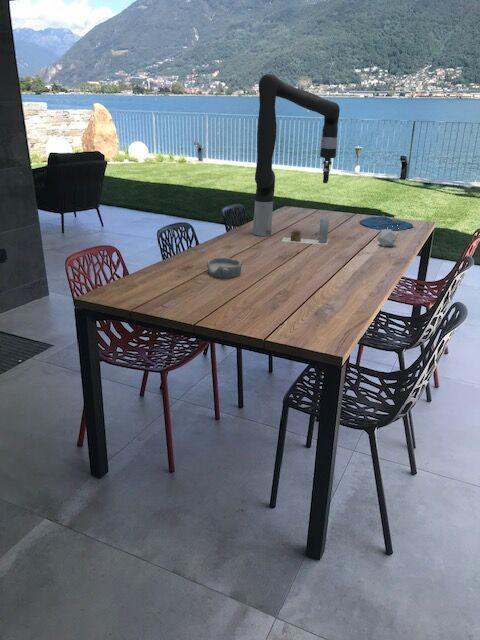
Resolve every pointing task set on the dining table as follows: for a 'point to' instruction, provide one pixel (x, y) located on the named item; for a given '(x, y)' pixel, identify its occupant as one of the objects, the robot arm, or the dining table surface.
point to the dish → (224, 267)
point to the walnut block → (296, 235)
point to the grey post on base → (322, 235)
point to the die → (386, 238)
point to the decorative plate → (385, 223)
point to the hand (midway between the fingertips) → (325, 182)
